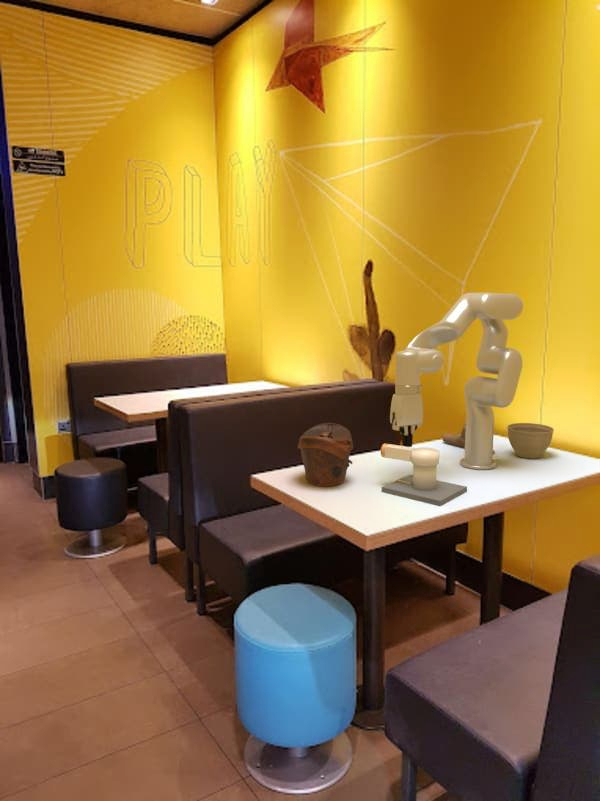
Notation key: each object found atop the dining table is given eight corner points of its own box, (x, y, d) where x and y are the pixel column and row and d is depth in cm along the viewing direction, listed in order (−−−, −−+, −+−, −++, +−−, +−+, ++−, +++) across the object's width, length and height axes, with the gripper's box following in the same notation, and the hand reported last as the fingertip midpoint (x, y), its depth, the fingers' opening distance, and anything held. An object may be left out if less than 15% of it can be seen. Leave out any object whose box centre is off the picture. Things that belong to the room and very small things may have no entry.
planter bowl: (497, 455, 224) (499, 427, 222) (519, 448, 235) (520, 421, 233) (539, 464, 212) (540, 434, 210) (559, 455, 223) (561, 427, 221)
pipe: (449, 441, 247) (450, 417, 245) (481, 449, 233) (482, 424, 231) (438, 443, 243) (438, 419, 241) (469, 452, 229) (470, 426, 228)
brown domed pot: (312, 493, 182) (312, 436, 179) (289, 476, 200) (289, 424, 198) (364, 487, 189) (365, 431, 186) (336, 470, 207) (337, 420, 204)
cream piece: (443, 462, 183) (443, 448, 182) (432, 469, 176) (433, 454, 175) (389, 454, 193) (389, 440, 192) (377, 459, 186) (377, 446, 186)
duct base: (410, 478, 196) (410, 452, 195) (466, 491, 183) (468, 463, 182) (381, 491, 184) (381, 463, 182) (440, 506, 171) (441, 475, 169)
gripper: (420, 386, 194) (419, 440, 197) (380, 390, 188) (381, 446, 192) (434, 389, 187) (433, 445, 191) (393, 394, 181) (393, 452, 185)
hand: (407, 446), depth 191 cm, fingers closed
